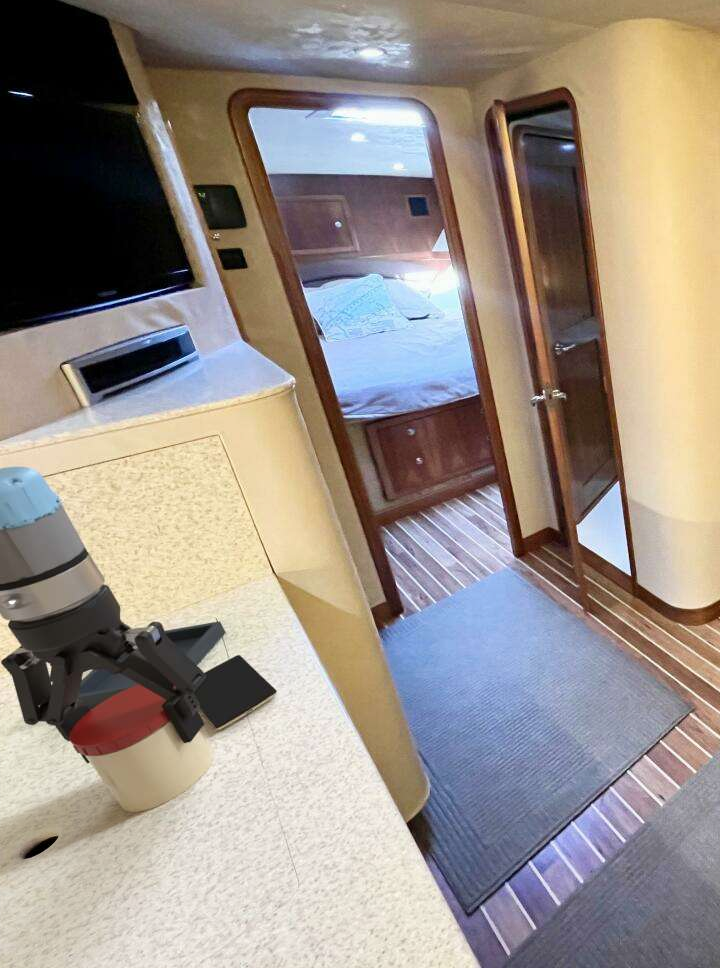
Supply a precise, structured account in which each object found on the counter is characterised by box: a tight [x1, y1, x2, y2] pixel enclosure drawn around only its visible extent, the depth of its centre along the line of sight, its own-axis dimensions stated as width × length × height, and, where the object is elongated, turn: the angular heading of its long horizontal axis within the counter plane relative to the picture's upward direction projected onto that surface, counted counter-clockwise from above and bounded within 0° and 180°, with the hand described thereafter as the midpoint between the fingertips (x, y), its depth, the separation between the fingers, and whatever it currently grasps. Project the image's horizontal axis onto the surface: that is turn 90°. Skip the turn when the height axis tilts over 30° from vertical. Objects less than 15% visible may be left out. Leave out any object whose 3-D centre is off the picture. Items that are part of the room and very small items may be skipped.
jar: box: [85, 720, 215, 813], centre depth 68 cm, size 9×9×12 cm
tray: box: [74, 620, 227, 711], centre depth 87 cm, size 14×14×3 cm
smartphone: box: [193, 654, 278, 731], centre depth 82 cm, size 7×1×15 cm
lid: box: [69, 684, 176, 756], centre depth 66 cm, size 10×10×2 cm
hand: (147, 742), depth 68 cm, fingers closed on lid, 9 cm apart
